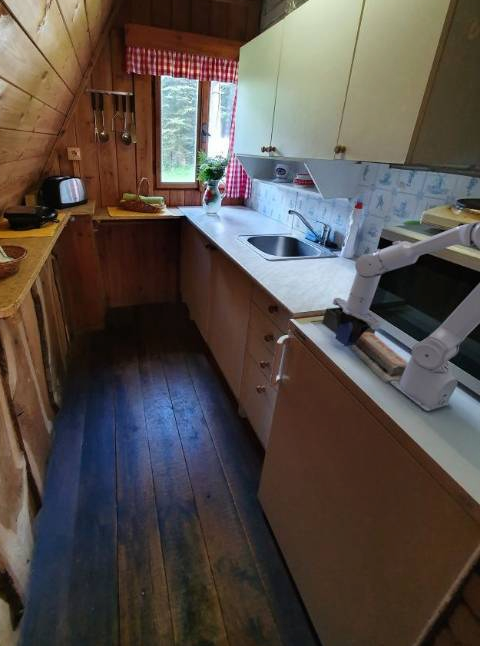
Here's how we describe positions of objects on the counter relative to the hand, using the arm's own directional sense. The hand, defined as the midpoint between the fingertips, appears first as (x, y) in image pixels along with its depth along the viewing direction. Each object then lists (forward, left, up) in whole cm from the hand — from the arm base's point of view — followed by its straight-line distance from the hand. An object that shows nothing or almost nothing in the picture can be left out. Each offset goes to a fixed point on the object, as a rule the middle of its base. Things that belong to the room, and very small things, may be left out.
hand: (346, 337), depth 89 cm
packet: (0, 0, -1) cm, 1 cm away
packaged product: (-7, -6, -5) cm, 10 cm away
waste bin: (+8, -10, -4) cm, 13 cm away
